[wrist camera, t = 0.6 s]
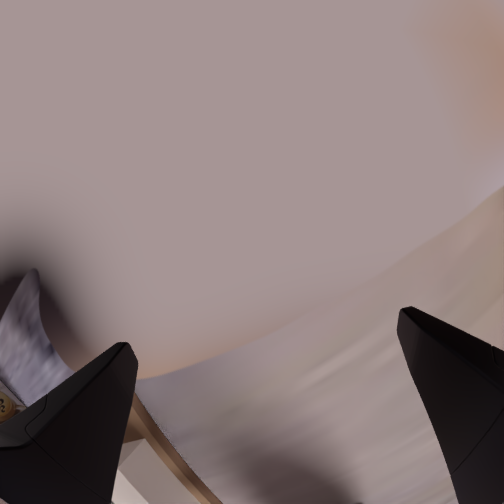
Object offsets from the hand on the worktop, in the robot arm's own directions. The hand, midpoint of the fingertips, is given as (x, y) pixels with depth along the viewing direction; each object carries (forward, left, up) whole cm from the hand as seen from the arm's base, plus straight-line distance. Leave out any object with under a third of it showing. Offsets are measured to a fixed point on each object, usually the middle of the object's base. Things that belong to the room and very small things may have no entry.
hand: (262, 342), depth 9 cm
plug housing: (-11, +20, -12) cm, 26 cm away
